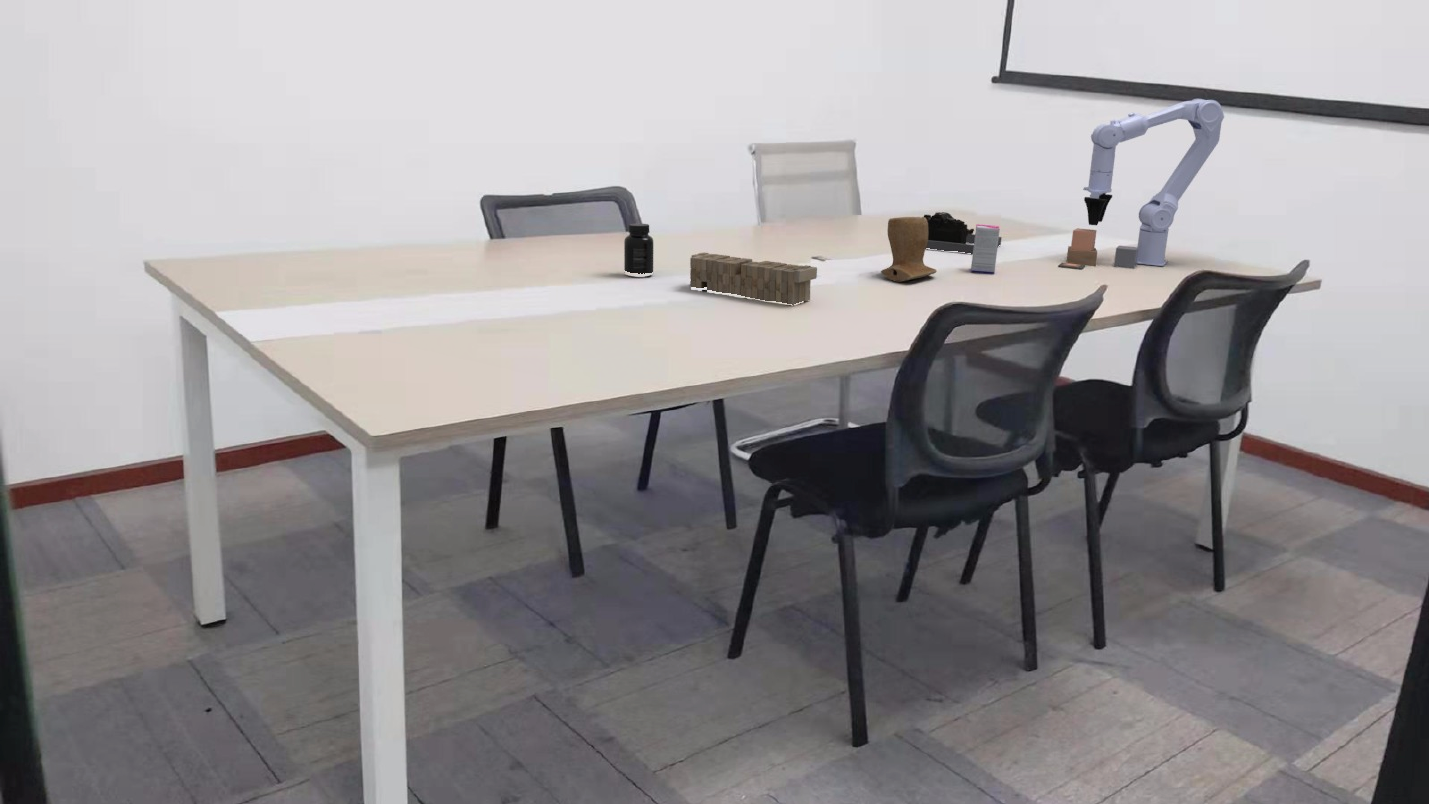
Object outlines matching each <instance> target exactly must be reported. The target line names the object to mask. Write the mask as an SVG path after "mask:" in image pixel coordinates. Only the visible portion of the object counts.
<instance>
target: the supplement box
mask: <svg viewBox="0 0 1429 804" xmlns="http://www.w3.org/2000/svg"><path fill="white" fill-rule="evenodd" d="M974 233H975V241H974V244H973V245H974V249H973V255H972V257H971V266H970V271H971V273H973V274H986V275H987V274H988V275H994V274H995V272H996V263H997V253H998V249H999V247H998V239H999V237H1000V225H991V224H990V225H988V224H979V223H978V224H976V225H975V231H974Z"/></svg>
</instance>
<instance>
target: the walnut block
mask: <svg viewBox="0 0 1429 804" xmlns="http://www.w3.org/2000/svg"><path fill="white" fill-rule="evenodd" d="M1066 253H1067V254H1066V263H1070V264H1079V265H1085V267H1087V266H1088V267H1096V265H1097V259H1098V258H1097V257H1098V250H1097V249H1096V247H1094V249H1093V250H1092V251H1082V250H1073V249H1071V245H1068V247H1067V252H1066Z"/></svg>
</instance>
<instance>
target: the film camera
mask: <svg viewBox="0 0 1429 804" xmlns="http://www.w3.org/2000/svg"><path fill="white" fill-rule="evenodd" d="M923 217H925V218H926V219H927V222H928V240H931V241H941V242H951V243H961V244H967V243H966V237H967V235H968V234H970V235H971V234H974V233H975V228H970V229H969V228H968V224H967V223H966V224H965V221H963V220H961V219H957V218H954V217H953V215H951V214H950V213H948V212H946V211H945V212H940V211H939V212H938V211H937V212H935V213H934V214H933V215H931V214H924V215H923Z"/></svg>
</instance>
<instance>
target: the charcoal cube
mask: <svg viewBox="0 0 1429 804" xmlns="http://www.w3.org/2000/svg"><path fill="white" fill-rule="evenodd" d="M1138 250H1139V247H1137V246H1136V247H1135V246H1126V245H1118V246H1117V247H1116V248H1115V256H1114V262H1113V267H1114V268H1122V269H1123V268H1124V269H1132V270H1133V269H1135V268H1136V267H1137V265H1138V264H1137V257H1138Z"/></svg>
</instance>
